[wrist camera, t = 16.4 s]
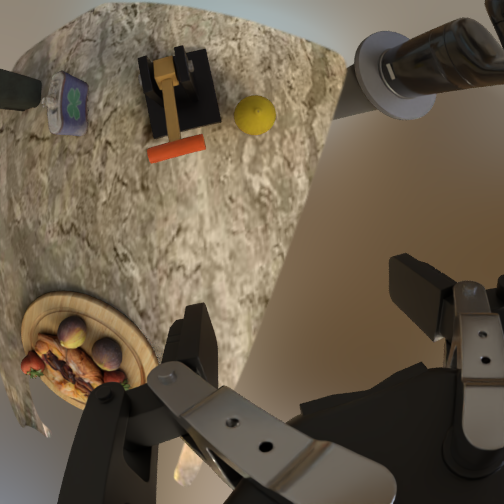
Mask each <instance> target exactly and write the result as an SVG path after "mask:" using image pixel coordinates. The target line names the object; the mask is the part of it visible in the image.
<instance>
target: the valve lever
mask: <svg viewBox="0 0 504 504" xmlns="http://www.w3.org/2000/svg"><path fill="white" fill-rule="evenodd" d="M153 66H154V78H155V80H156V82H157V85H158V87H159V89H160V90H162V92H163V101H164V109H165V117H166V124H167V132H168V139H169V142H168V143H165V144H161V145H158V146H154V147H151V148H148V149H147V154H148V158H149V161H150V163H156V162H159V161H163V160H167V159H170V158H174V157H178V156H181V155H185V154H189V153H193V152H197V151H201V150H205V149H206V146H205V141H204V137H203V134H199V135H195V136H191V137H187V138H183V139H181V134H180V128H179V121H178V115H177V108H176V101H175V94H174V87H173V86H176V85H179V81H178V74H177V68H176V65H175V62H174V59H173V56H168V57H165V58H161V59H158V60H154V61H153Z"/></svg>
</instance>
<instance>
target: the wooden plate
mask: <svg viewBox="0 0 504 504" xmlns="http://www.w3.org/2000/svg"><path fill="white" fill-rule="evenodd" d="M21 335H22V343H23V347H24V350H25V353H26V357H25V358H24V359H23V360H22V362H21V369H22V371H23V372H24V373H25V374H26V375H27V374H29V375H30V378H33V377H35V378H36V377H37V376H39V377H40V378H41V380H42V381H43V382H44V383H45V384H46V385H47V386H48V387H49V388H50V389H51V390H52V391H53V392H54V393H56V394H57V395H58V396H59V397H61V398H62V399H64V400H65V401H67V402H69V403H70V404H72V405H74V406H76V407H78V408H80V409H82V410H84V408H85V405H86V402H87V399H88V397H89V394H90V393H91V392H92V391H93V390H94V389H95V388H96V387H97V386H99V385H101V384H103V383H106V382H118V383H120V384H121V385H122V386H123V387H124V389H125V390H129V389H132V388H135V387H138V386H141V385H143V384H145V383H147V376H148V374H149V373H150V371H151V370H152V369H153V368H155V367H156V366H158V365H159V363H158V360H157V357H156V354H155V352H154V350H153V349H152V347H151V345H150V343H149V342H148V340H147V339H146V337H145V336H144V335H143V333H142V332H141V331H140V330H139V329H138V327H137V326H136V325H135V324H134V323H133V322H131V321H130V320H129V319H128V318H127V317H126V316H124V315H123V314H122V313H120V312H119V311H118V310H116V309H115V308H113V307H112V306H110V305H109V304H107V303H105V302H103V301H101V300H98V299H96V298H94V297H91V296H89V295H86V294H82V293H78V292H72V291H53V292H49V293H46V294H44V295H42V296H40V297H39V298H37V299H36V300H34V301H33V302H32V303H31V304H30V306H29V307H28V308H27V310H26V312H25V314H24V317H23V320H22V326H21Z"/></svg>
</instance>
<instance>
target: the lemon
mask: <svg viewBox="0 0 504 504" xmlns="http://www.w3.org/2000/svg"><path fill="white" fill-rule="evenodd" d="M275 118H276V112H275V108H274V106H273V104H272V103H271V102H270V101H269V100H268V99H267V98H264V97H262V96H258V95H253V96H248V97H246V98H244V99H242V100H241V101H240V102H239V103H238V105H237V106H236V108H235V112H234V119H235V123H236V125H237V126H238V128H239V129H240V130H241V131H243V132H245V133H247V134H250V135H259V134H263V133H265V132H267V131H268V130H269V129H270V128H271V127H272V126H273V124H274V122H275Z"/></svg>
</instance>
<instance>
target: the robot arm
mask: <svg viewBox="0 0 504 504" xmlns="http://www.w3.org/2000/svg"><path fill="white" fill-rule="evenodd" d="M485 7H486V11H487V13H488V15H489V17H490V20H491V22H492V24H493V26H494V28H495V31H496V33H497V35H498V37H499V40H500V42H501V45H502V47H503V48H502V47H501V46H500V45H499V43H498V42H497V41H496V40H495V38H494V37H493V36H492V34H491V33H490V32H489V31H488V30H487V29H486V28H485V27H484V26H483V25H481V24H480V23H479V22H477V21H475V20H473V19H470V18H459V19H456V20H453V21H451V22H448V23H446V24H444V25H442V26H439V27H437V28H434V29H432V30H430V31H427V32H425V33H423V34H421V35H419V36H417V37H414V38H412V39H410V40H408V41H406V42H404V43H402V44H400V45H397V46H395V47H393V48H390V49H388V50H386V51H385V52H383V53H382V55H381V56H380V58H379V62H378V69H379V74H380V77H381V79H382V81H383V83H384V85H385V86H386V87H387V89H388V90H389V91H390V92H391V93H393V94H394V95H396V96H397V97H399V98H402V99H413V98H416V97H420V96H426V95H432V94H437V93H443V92H449V91H457V90H464V89H470V88H478V87H486V86H494V85H503V84H504V0H485ZM389 293H390V297H391V299H392V301H393V302H394V303H395V304H396V305H397V306H398V307H399V308H400V309H401V310H402V311H403V312H404V313H405V314H406V315H407V316H408V317H409V318H410V319H411V320H412V321H413V322H414V323H415V324H416V325H417V326H418V327H419V328H420V329H421V330H422V331H423V332H424V333H425V334H426V335H427V336H428V337H429V338H430V339H431V340H432V341H433V342H435V341H437V340H440V339H442V338H444V337H445V338H446V339H445V344H444V362H443V368H442V367H441V368H430V369H427V367H426V366H425V365H424V364H423V363H422V362H419V363H417V364H415V365H413V366H410V367H408V368H405V369H403V370H401V371H398V372H396V373H394V374H393V375H391V376H390V377H388V378H387V379H385V380H384V381H383V382H381V383H379V384H377V385H376V386H374V387H373V388H371V389H369V390H365V391H358V392H352V393H343V394H336V395H330V396H327V397H323V398H320V399H317V400H313V401H309V402H306V403H302V404H300V410H301V414H300V415H297V416H295V417H294V418H292V419H291V420H289V421H288V422H286V423H284V422H282V421H281V420H279V419H277V418H276V417H274V416H273V415H271V414H269V413H268V412H266V411H265V410H263V409H261V408H260V407H258V406H256V405H255V404H253V403H252V402H250V401H249V400H247V399H246V398H244V397H243V396H241V395H240V394H238V393H237V392H235V391H234V390H232V389H231V388H229V387H227V386H222V387H220V388H219V389H218V346H217V340H216V336H215V332H214V329H213V326H212V323H211V320H210V317H209V314H208V311H207V308H206V305H205V303H204V302H203V303H198V304H193V305H188V306H186V309H185V314H184V319H179V320H176V321H175V322H174V323H173V325H172V326H171V327H170V329H169V333H168V337H167V341H166V343H167V344H166V345H165V350H164V354H163V358H162V362H161V364H160V365H158V366H156V367H155V368H153V369H152V370H151V371H150V373H149V374H148V376H147V383H145V384H143V385H141V386H138V387H135V388H132V389H129V390H125V389H124V387H123V386H122V385H121V384H120V383H118V382H106V383H103V384H101V385H99V386H97V387H96V388H95V389H94V390H93V391H92V392H91V393H90V394H89V397H88V399H87V402H86V405H85V408H84V411H83V414H82V417H81V420H80V423H79V426H78V429H77V432H76V435H75V438H74V442H73V445H72V448H71V452H70V455H69V459H68V462H67V466H66V470H65V473H64V477H63V481H62V485H61V490H60V494H59V498H58V503H57V504H156V484H157V460H158V445H159V443H162V442H165V441H168V440H171V439H174V438H177V437H179V436H180V438H181V439H182V440H183V441H184V442H185V443H186V444H187V445H188V446H189V447H190V448H191V449H192V450H193V451H194V452H195V453H196V454H197V455H198V456H199V457H200V458H201V459H202V460H203V461H204V462H205V463H207V464H208V465H209V466H210V467H211V468H212V469H213V471H214V472H215V473H216V474H217V475H218V476H219V477H220V478H221V479H222V480H223V481H224V482H225V483H226V484H227V485H228V486H229V487H230V488H232V489H233V492H232V493H231V494H230V496H229V497H228V499H227V500H226V501H225V502H224V503H223V504H504V275H501V276H500V277H499V278H498V283H497V288H493V289H488V290H485V288H484V286H482V285H481V284H479V283H477V282H474V281H461V282H458V283H457V282H455V281H454V280H453V279H451V278H450V277H448V276H447V275H445V274H444V273H441V272H440V271H439V270H437V269H435V268H434V267H433V266H431V265H429V264H428V263H425V262H421V261H418V260H417V259H415V258H414V257H412V256H410V255H409V254H407V253H403V254H400V255H396V256H393V257H391V258H390V259H389Z"/></svg>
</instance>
